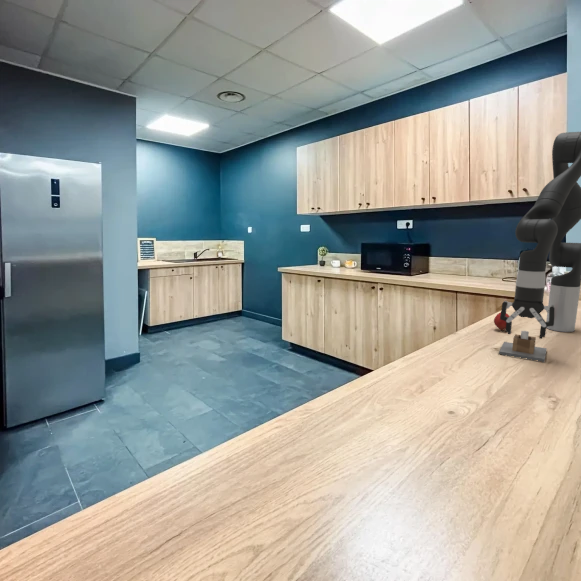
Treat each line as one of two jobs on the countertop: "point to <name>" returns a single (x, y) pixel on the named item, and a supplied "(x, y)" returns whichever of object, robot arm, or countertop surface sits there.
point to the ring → (524, 344)
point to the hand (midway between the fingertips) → (524, 335)
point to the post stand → (507, 350)
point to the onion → (500, 322)
